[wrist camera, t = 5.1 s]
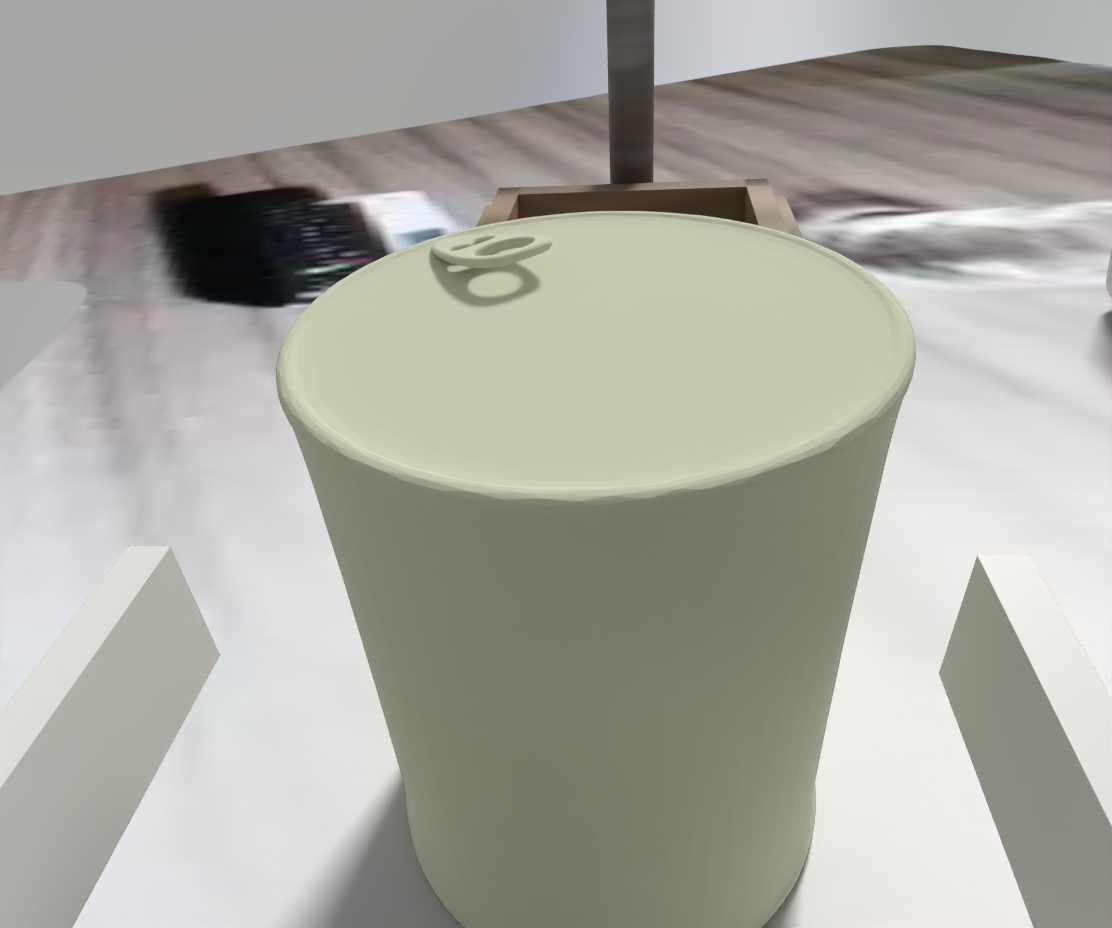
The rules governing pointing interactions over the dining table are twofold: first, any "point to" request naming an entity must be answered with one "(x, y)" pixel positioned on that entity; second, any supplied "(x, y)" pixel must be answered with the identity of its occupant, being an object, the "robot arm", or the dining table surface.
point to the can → (603, 547)
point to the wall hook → (1109, 277)
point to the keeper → (641, 151)
